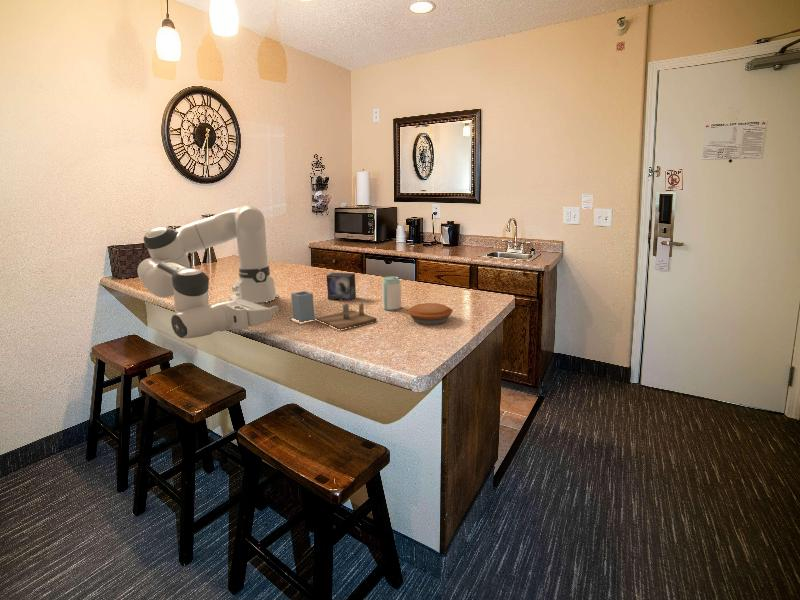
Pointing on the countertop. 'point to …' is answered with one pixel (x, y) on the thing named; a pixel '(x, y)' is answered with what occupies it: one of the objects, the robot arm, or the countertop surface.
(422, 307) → the pie
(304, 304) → the square pen holder
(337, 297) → the small box
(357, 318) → the post base
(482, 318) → the countertop surface
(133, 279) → the countertop surface
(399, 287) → the can
